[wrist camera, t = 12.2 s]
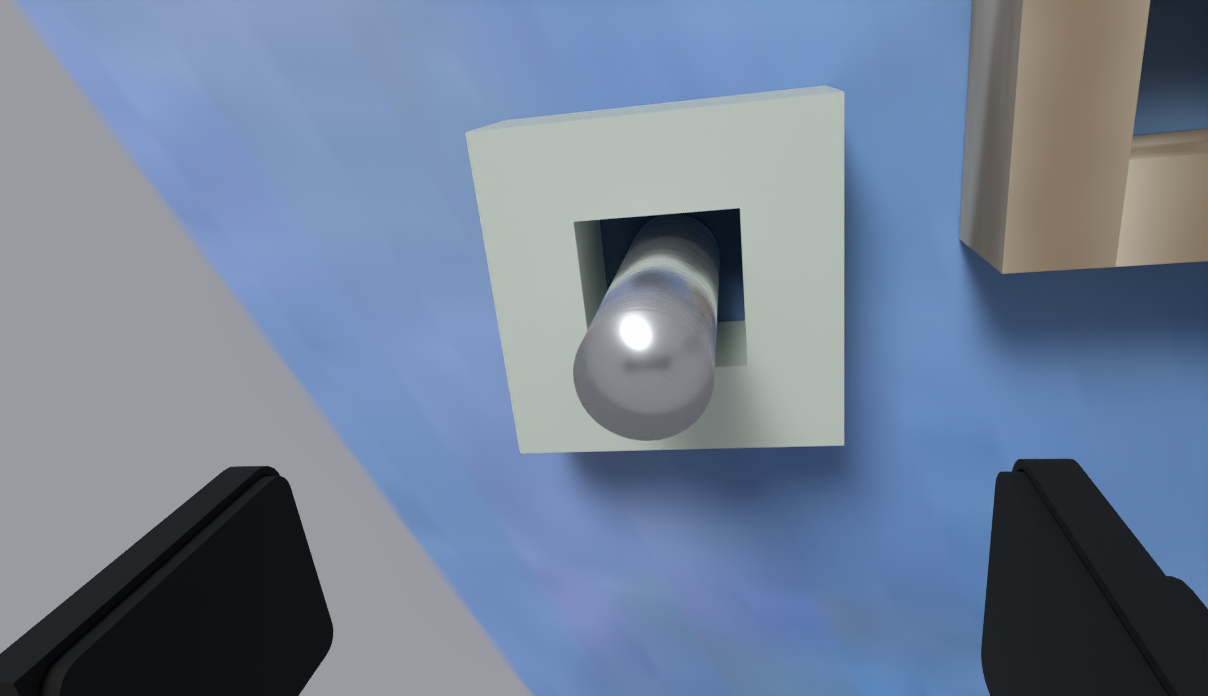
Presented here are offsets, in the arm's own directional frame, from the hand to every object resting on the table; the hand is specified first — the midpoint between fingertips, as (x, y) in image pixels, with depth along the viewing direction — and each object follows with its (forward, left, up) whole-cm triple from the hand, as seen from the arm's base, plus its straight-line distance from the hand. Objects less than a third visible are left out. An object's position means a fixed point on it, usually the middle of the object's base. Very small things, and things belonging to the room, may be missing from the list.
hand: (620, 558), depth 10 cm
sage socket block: (0, 0, -16) cm, 16 cm away
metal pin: (0, 0, -16) cm, 16 cm away
